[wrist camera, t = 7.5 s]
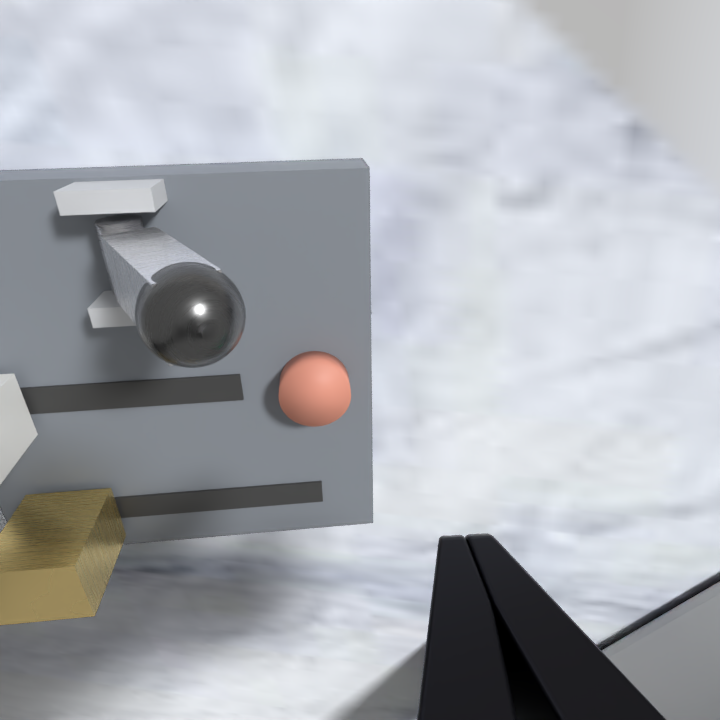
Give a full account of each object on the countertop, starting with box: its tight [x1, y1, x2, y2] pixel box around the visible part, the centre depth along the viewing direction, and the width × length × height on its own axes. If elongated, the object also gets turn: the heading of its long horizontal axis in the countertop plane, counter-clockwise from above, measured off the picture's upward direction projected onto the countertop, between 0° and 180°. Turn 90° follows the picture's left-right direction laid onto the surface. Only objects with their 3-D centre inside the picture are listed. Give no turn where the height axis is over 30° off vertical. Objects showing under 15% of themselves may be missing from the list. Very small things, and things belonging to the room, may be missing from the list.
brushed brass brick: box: [0, 488, 126, 625], centre depth 18 cm, size 3×2×4 cm
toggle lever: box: [94, 215, 246, 368], centre depth 13 cm, size 2×2×7 cm
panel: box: [0, 158, 373, 544], centre depth 18 cm, size 14×14×3 cm
